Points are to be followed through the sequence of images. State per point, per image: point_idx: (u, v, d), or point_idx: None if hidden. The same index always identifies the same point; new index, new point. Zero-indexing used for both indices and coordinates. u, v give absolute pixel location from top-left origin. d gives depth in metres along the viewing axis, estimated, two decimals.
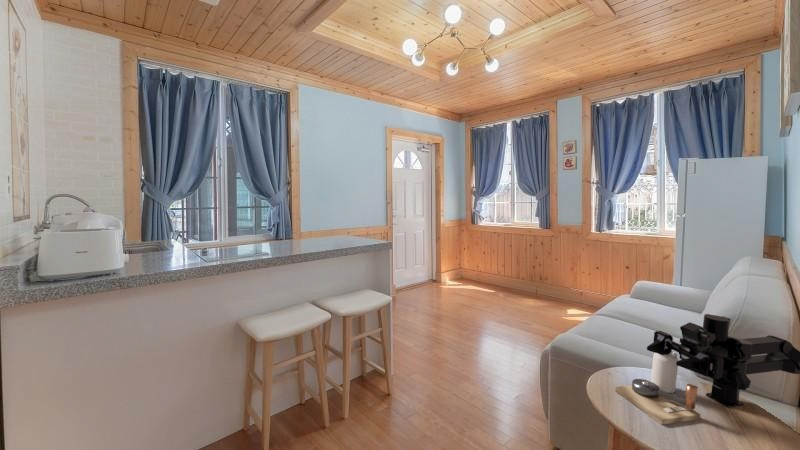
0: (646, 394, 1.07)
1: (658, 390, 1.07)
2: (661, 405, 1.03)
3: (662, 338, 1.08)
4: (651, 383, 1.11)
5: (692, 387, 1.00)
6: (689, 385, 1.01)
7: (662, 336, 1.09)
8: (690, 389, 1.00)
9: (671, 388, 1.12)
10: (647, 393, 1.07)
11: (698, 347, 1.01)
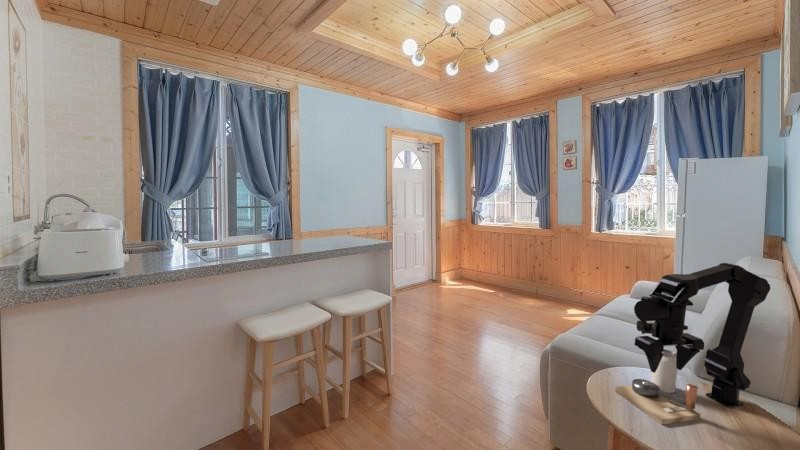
0: (646, 394, 1.07)
1: (658, 390, 1.07)
2: (661, 405, 1.03)
3: None
4: (651, 383, 1.11)
5: (692, 387, 1.00)
6: (689, 385, 1.01)
7: None
8: (690, 389, 1.00)
9: (671, 388, 1.12)
10: (647, 393, 1.07)
11: None
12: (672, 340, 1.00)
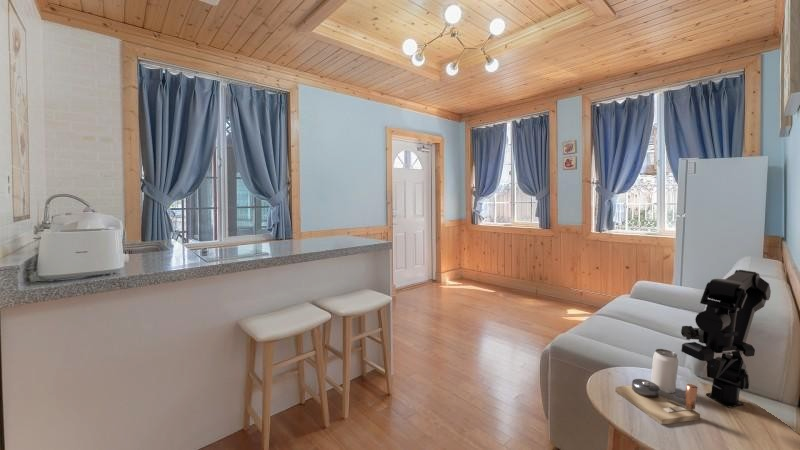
0: (646, 394, 1.07)
1: (658, 390, 1.07)
2: (661, 405, 1.03)
3: None
4: (651, 383, 1.11)
5: (692, 387, 1.00)
6: (689, 385, 1.01)
7: None
8: (690, 389, 1.00)
9: (671, 388, 1.12)
10: (647, 393, 1.07)
11: None
12: (722, 346, 0.97)
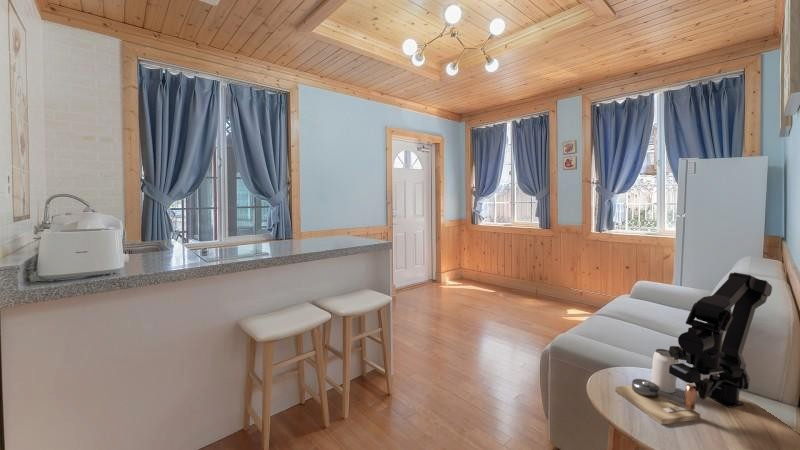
0: (646, 394, 1.07)
1: (658, 390, 1.07)
2: (661, 405, 1.03)
3: None
4: (651, 383, 1.11)
5: (692, 387, 1.00)
6: (689, 385, 1.01)
7: None
8: (690, 389, 1.00)
9: (671, 388, 1.12)
10: (647, 393, 1.07)
11: None
12: (709, 368, 0.97)
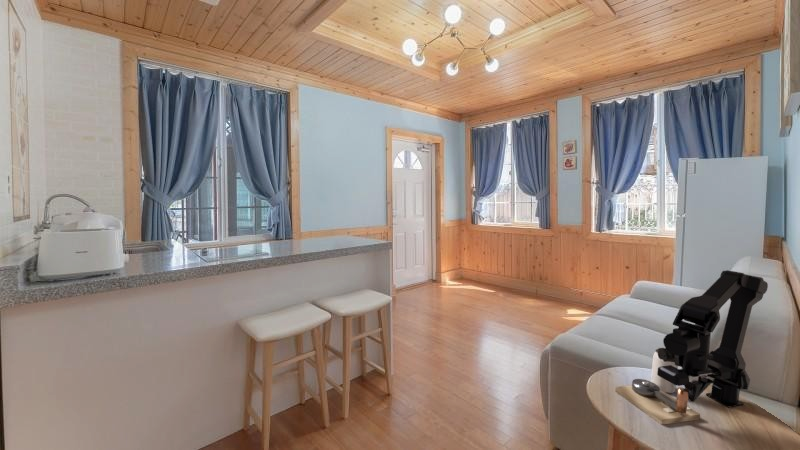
0: (640, 392, 1.08)
1: (655, 391, 1.06)
2: (661, 405, 1.03)
3: None
4: (654, 385, 1.10)
5: (682, 390, 0.98)
6: (681, 388, 0.99)
7: None
8: (679, 392, 0.98)
9: (671, 388, 1.12)
10: (642, 391, 1.08)
11: None
12: (697, 370, 0.96)
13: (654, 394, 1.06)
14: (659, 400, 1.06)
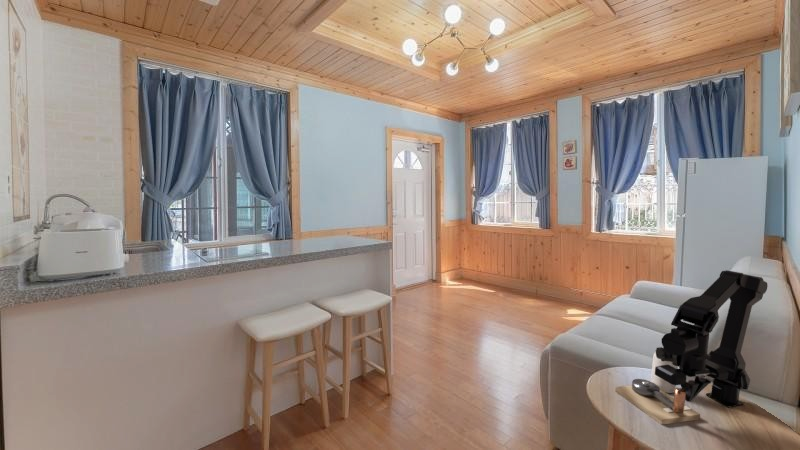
0: (639, 392, 1.08)
1: (654, 391, 1.06)
2: (661, 405, 1.03)
3: None
4: (654, 385, 1.09)
5: (678, 390, 0.98)
6: (678, 389, 0.99)
7: None
8: (676, 392, 0.98)
9: (671, 388, 1.12)
10: (641, 391, 1.08)
11: None
12: (695, 370, 0.96)
13: (653, 394, 1.06)
14: (659, 400, 1.06)
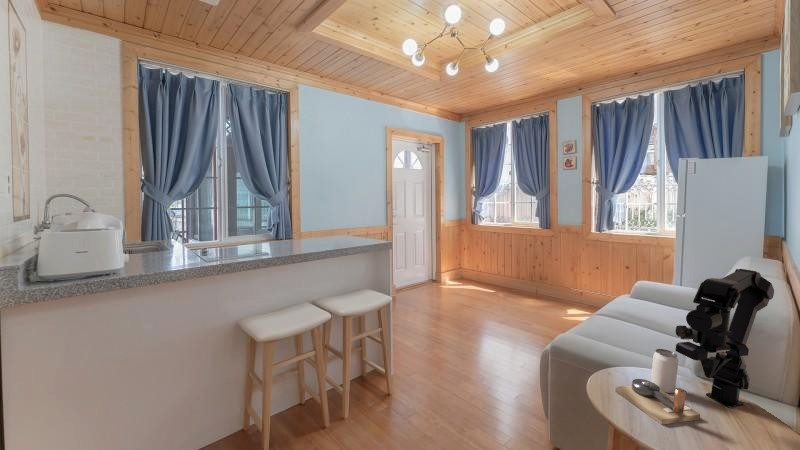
0: (639, 392, 1.08)
1: (654, 391, 1.06)
2: (661, 405, 1.03)
3: None
4: (654, 385, 1.09)
5: (678, 390, 0.98)
6: (678, 389, 0.99)
7: None
8: (676, 392, 0.98)
9: (671, 388, 1.12)
10: (641, 391, 1.08)
11: None
12: (716, 346, 0.97)
13: (653, 394, 1.06)
14: (659, 400, 1.06)
